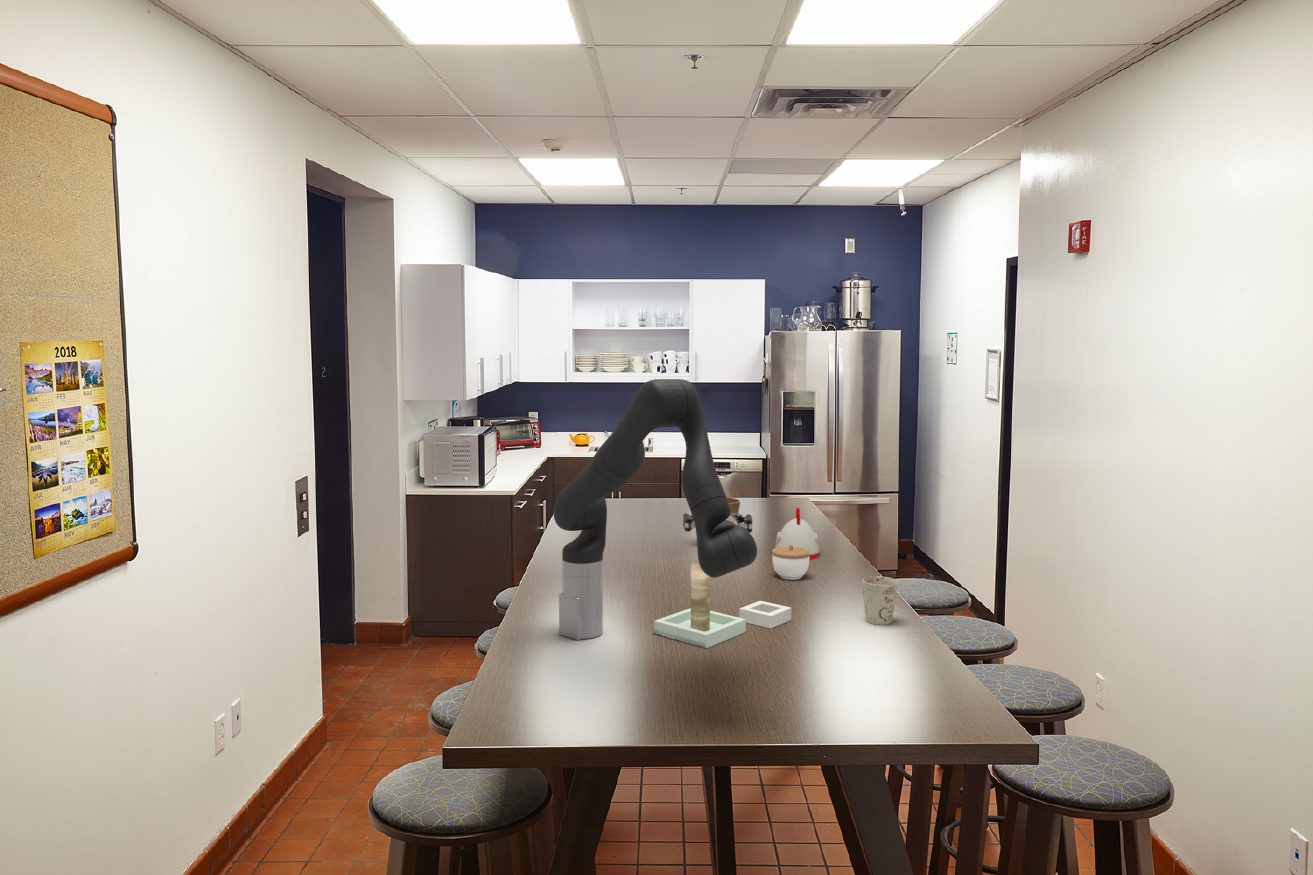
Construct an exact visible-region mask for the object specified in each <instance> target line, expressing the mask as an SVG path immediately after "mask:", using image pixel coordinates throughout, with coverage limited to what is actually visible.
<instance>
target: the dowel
mask: <svg viewBox="0 0 1313 875" xmlns="http://www.w3.org/2000/svg"><path fill="white" fill-rule="evenodd" d="M690 608H691V628H692V629H696V630H700V631H708V630H710V611H711V577H710V576H708V575H706V574H705V573H704V572H703V570H702V569H701V567H700V564H699V561H697V562H692V563H691V564H690Z"/></svg>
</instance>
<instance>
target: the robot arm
mask: <svg viewBox="0 0 1313 875" xmlns="http://www.w3.org/2000/svg"><path fill="white" fill-rule="evenodd" d="M659 428H679V430H680V432H681V434H682V436H683V438H684V442H685V457H684V463H683V468H682V473H681V485H682V491H683V494H684V498H685V500H686V502H687V504H688V509H689V510H690V514H691V515H690V514H689V513H682V516H683V518H682V519H683V521H682V527H683V529H684V531H685V532H688V533H689V532H691V531H692V530H693V528H695V535H696V547H697V548H696V549H697V558H698V560H697V562H699V564H700V567H701V569H702V570H703V572H704V573H705V574H706V575H708V576H710V578H713V579H716V578H720V577H722V576H725V575H727V574H730V573H733V572H735V571H738V570H740V569H743V568H746V567H748V566H750V565H752V563H754V561H755V560H756V559H757V556H758V546H757V543H756V541H755V539H754V537H753V535H752V532H753V516H752V515H751V514H746V515H745V516H743V515H744V514H742V513H739V511H738V512H735V511H734V514H731V508H730V505H729V502H728V500H727V494H726V492H725V489H724V488H723V485H722V482H721V480H720V478H719V475H718V471H717V469H716V467H715V463H714V462H715V461H714V459H713V454H712V449H711V445H710V440H709V434H708V430H707V426H706V421H705V417H704V412H703V407H702V403H701V400H700V396H699V394H698V392H697V389H696V387H695V386H694V384H693V383H692V382H691V381H689V380H687V379H684V378H683V379H682V378H681V379H680V378H657V379H656V378H655V379H650V380H648V381H646V382H645V383H643V384H642V385H641V386H640V388H639V390H638V391H637V392H636V393H635V395H634V397H633V399H632V401H631V403H630V404H629V406H628V408H627V409H626V412H625V413H624V415H623V416H622V418H621V420H620V421H619V422H618V424H617V425H616V427H615V428H614V429H613V431H612V432H611V434H610V435H609V436H608V438H606V439H605V441H604V442H603V443H602V444H601V445H600V447H599V449H598V450H597V451H596V452H595V454H594V456H593V457H592V458H591V460H590V461H589V462H588V463H587V464H586V465H585V467H584V468H583V469H582V471H581V472H580V473H579V474H578V475H577V477H575V478H574V480H573V481H571V482H570V483H569V484H568V485H567V486H566V487H565V488H564V489H563V490H562V491H561V492H560V493H559V494H558V496H557V498H556V500H555V503H554V506H553V519H554V521H555V524H556V525H557V526H558V528H560V529H562V530H563V531H567V532H576V531H581V532H580V533H579V534H578V536H577V537H576V538H574V539H573V540H572V541H570V542H568V543H567V544H566V545H564V546H563V548H562V552H561V556H562V557H561V558H562V562H561V564H562V565H561V566H562V568H561V570H562V572H561V573H562V574H561V577H562V578H561V579H562V584H561V585H562V586H561V587H562V588H561V589H562V590H561V591H562V592H560V593H559V594H558V625H559V626H558V634H559V635H560V636H563V637H567V638H570V639H574V640H576V641H579V640H582V639H583V640H584V639H585V640H586V639H594V638H596V637H599V636H601V635H602V634H603V632H604V622H603V620H604V594H603V593H604V576H603V575H604V551H605V547H606V543H607V542H606V537H607V521H608V519H607V518H608V509H607V508H608V507H607V500H606V497H607V496H609V495H611V494H612V493H615V492H616V491H618V490H620V489H621V488H623V487H624V486H626V484H628V483H630V481H631V480H632V479H633V478H634V477H635V475H636V474H638V472H639V471H640V469H641V468H642V467H643V464H644V463H645V460H646V449H645V445H644V440H645V439H646V438H647V436H648V435H649V434H651V432H652V431H654V430H657V429H659Z"/></svg>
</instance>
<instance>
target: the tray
mask: <svg viewBox="0 0 1313 875" xmlns="http://www.w3.org/2000/svg"><path fill="white" fill-rule="evenodd" d="M746 627H747V623H746V619H742V618H739V616H734V615H729V614H726V613H721V612H717V611H714V610H710V630H708V631H700V630H696V629H692V628H691V607H690V608H687V609H685V610H682V611H678V612H675V613H672V614H670V615H667V616H663V617H662V618H659V619H655V620H654V621H653V634H654V633H656V634H655V635H657V634H659V635H658V636H660V635H662V636H661V637H664V636H665V637H664V638H668V639H671V640H675V639H676V640H675V641H678V640H679V642H682V643H686V644H688V645H693V646H697V647H700V648H703V649H709V648H711V647H714V646H716V645H718V644H720V643H723V642H725V641H727V640H730V639H733V638H734V637H737V636H739V635H741V634H744V633H746Z"/></svg>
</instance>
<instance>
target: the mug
mask: <svg viewBox="0 0 1313 875" xmlns="http://www.w3.org/2000/svg"><path fill="white" fill-rule="evenodd" d="M861 581H862V582H861V585H862V586H861V588H862V595H863V596H862V597H863V606H864V615H865V616H864V617H865V621H866V622H867V623H868V624H873V625H879V626H880V625H881V626H883V625H885V626H886V625H890V624H891V623H892V621H893V614H894V609H895V603H896V597H897V592H898V587H899V586H898V585H899V583H898V580H896V579H895V578H892V577H888V576H881V575H879V576H878V575H872V576H871V575H870V576H865V577H863V578H862V579H861Z"/></svg>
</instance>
